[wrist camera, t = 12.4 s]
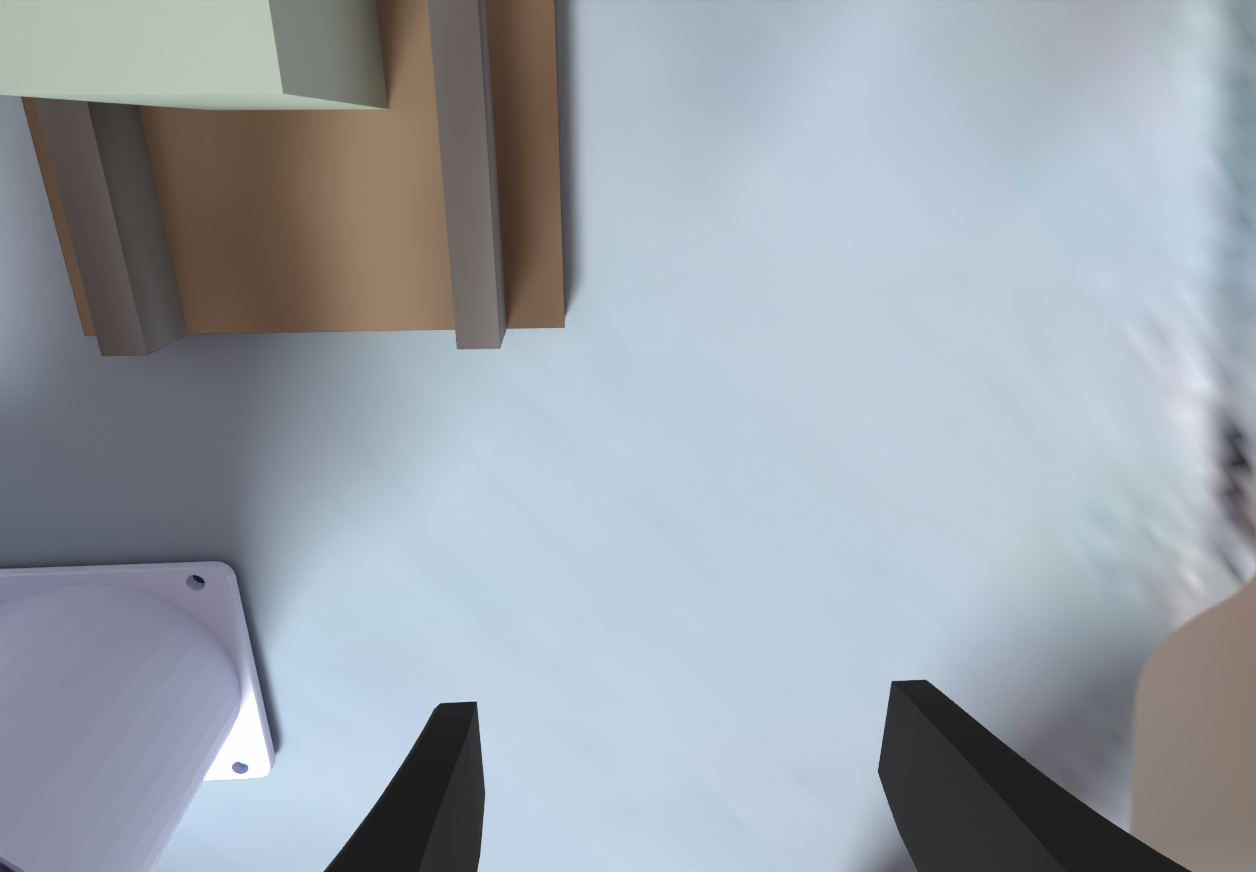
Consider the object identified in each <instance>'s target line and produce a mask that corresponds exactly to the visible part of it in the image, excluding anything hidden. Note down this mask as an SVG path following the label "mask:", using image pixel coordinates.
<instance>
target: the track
mask: <svg viewBox="0 0 1256 872" xmlns="http://www.w3.org/2000/svg"><path fill="white" fill-rule="evenodd" d="M376 5H377V14H378V23H379V32H380V41H381V50H382V58H383V67H384V76H385V85H386V94H387V103H388V109H340V110H203V109H189V108H175V107H161V106H148V105H134V104H120V103H107V102H93V101H79V100H66V99H52V98H38V97H24V96H21V98H22V102H23V106H24V110H25V113H26V117H27V121H28V125H29V128H30V132H31V136H32V140H33V143H34V147H35V151H36V155H37V158H38V162H39V166H40V170H41V173H42V177H43V181H44V185H45V188H46V192H47V196H48V200H49V203H50V207H51V211H52V215H53V218H54V222H55V226H56V230H57V233H58V237H59V241H60V245H61V248H62V252H63V256H64V260H65V263H66V267H67V271H68V275H69V278H70V282H71V286H72V290H73V294H74V297H75V301H76V305H77V309H78V312H79V316H80V320H81V324H82V327H83V331H84V335H85V336H97V340H98V344H99V348H100V351H101V355H102V356H132V355H149V354H151V353H153V352H154V351H156V350H158V349H160V348H162V347H164V346H166V345H168V344H170V343H172V342H174V341H176V340H178V339H180V338H182V337H183V336H185V335H187V334H226V333H284V332H342V331H399V330H455V331H456V343H457V349H500V347H501V344H502V341H503V338H504V335H505V332H506V329H515V328H565V311H564V279H563V248H562V216H561V185H560V153H559V121H558V90H557V58H556V27H555V0H376Z"/></svg>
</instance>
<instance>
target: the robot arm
mask: <svg viewBox="0 0 1256 872" xmlns="http://www.w3.org/2000/svg"><path fill="white" fill-rule="evenodd" d="M192 575H197V576H200V577H201V578H203V580H204V582H205V583H198V582H197V581H195V580H194V578H193V576H192ZM238 761H240V762H244V763H246V764H247V765H245V764H241V763H239V762H238ZM274 764H275V753H274V749H273V744H272V740H271V735H270V730H269V726H268V721H267V717H266V712H265V708H264V703H263V698H262V694H261V689H260V685H259V680H258V675H257V671H256V666H255V662H254V657H253V653H252V648H251V643H250V639H249V634H248V630H247V625H246V621H245V616H244V611H243V607H242V602H241V598H240V593H239V589H238V584H237V579H236V575H235V573H234V571H233V569H232V568H231V567H230V566H229V565H227V564H225V563H223V562H217V561H208V562H180V563H153V564H125V565H97V566H69V567H42V568H14V569H0V872H151V871H152V870H153V868H154V866H155V864H156V862H157V861H158V859H159V857H160V855H161V854H162V852H163V850H164V848H165V847H166V845H167V843H168V841H169V840H170V838H171V836H172V834H173V833H174V831H175V829H176V827H177V826H178V824H179V822H180V820H181V819H182V817H183V815H184V813H185V812H186V810H187V808H188V806H189V805H190V803H191V801H192V799H193V798H194V796H195V794H196V792H197V791H198V789H199V787H200V785H201V783H202V782H203V780H221V779H239V778H258V777H264V776H266V775H268V774H269V773H270V772H271V770H272V768H273V766H274ZM878 774H879V777H880V780H881V783H882V786H883V789H884V792H885V795H886V798H887V800H888V803H889V806H890V809H891V812H892V814H893V817H894V820H895V823H896V825H897V828H898V831H899V833H900V835H901V837H902V839H903V841H904V843H905V845H906V848H907V850H908V852H909V854H910V856H911V858H912V860H913V862H914V864H915V866H916V868H917V870H918V872H1191V871H1189V870H1187V869H1186V868H1184V867H1182V866H1181V865H1179V864H1177V863H1175V862H1174V861H1172V860H1171V859H1169V858H1167V857H1165V856H1164V855H1162V854H1160V853H1159V852H1157V851H1155V850H1154V849H1152V848H1151V847H1149V846H1148V845H1146V844H1145V843H1143V842H1141V841H1140V840H1138V839H1136V838H1135V837H1133V836H1132V835H1130V834H1129V833H1127V832H1126V831H1124V830H1122V829H1121V828H1119V827H1118V826H1116V825H1115V824H1113V823H1112V822H1110V821H1109V820H1107V819H1106V818H1104V817H1103V816H1101V815H1100V814H1098V813H1097V812H1095V811H1094V810H1092V809H1091V808H1089V807H1088V806H1087V805H1085V804H1084V803H1083V802H1081V801H1080V800H1078V799H1077V798H1076V797H1074V796H1073V795H1071V794H1070V793H1069V792H1067V791H1066V790H1064V789H1063V788H1062V787H1060V786H1059V785H1057V784H1056V783H1055V782H1053V781H1052V780H1051V779H1049V778H1048V777H1047V776H1045V775H1044V774H1043V773H1041V772H1040V771H1039V770H1037V769H1036V768H1035V767H1034V766H1032V765H1031V764H1030V763H1028V762H1027V761H1026V760H1025V759H1023V758H1022V757H1021V756H1019V755H1018V754H1017V753H1016V752H1014V751H1013V750H1012V749H1011V748H1009V747H1008V746H1007V745H1006V744H1004V743H1003V742H1002V741H1001V740H999V739H998V738H997V737H996V736H994V735H993V734H992V733H991V732H989V731H988V730H987V729H986V728H985V727H983V726H982V725H981V724H980V723H979V722H977V721H976V720H975V719H974V718H972V717H971V716H970V715H969V714H968V713H966V712H965V711H964V710H963V709H962V708H960V707H959V706H958V705H957V704H955V703H954V702H953V701H952V700H951V699H949V698H948V697H947V696H946V695H945V694H943V693H942V692H941V691H940V690H938V689H937V688H936V687H935V686H933V685H932V684H931V683H929V682H928V681H927V680H909V681H892V683H891V690H890V696H889V703H888V709H887V716H886V722H885V729H884V735H883V742H882V748H881V755H880V761H879V768H878ZM484 802H485V787H484V776H483V765H482V754H481V743H480V732H479V721H478V710H477V702H458V703H440V704H439V705H438V706H437V707H436V708H435V709H434V710H433V712H432V714H431V716H430V718H429V720H428V722H427V724H426V725H425V727H424V729H423V731H422V732H421V734H420V736H419V738H418V739H417V741H416V743H415V744H414V746H413V748H412V749H411V751H410V752H409V754H408V756H407V757H406V759H405V760H404V762H403V764H402V765H401V767H400V768H399V770H398V771H397V773H396V774H395V776H394V777H393V779H392V780H391V782H390V783H389V785H388V786H387V788H386V789H385V791H384V792H383V794H382V795H381V797H380V798H379V800H378V801H377V803H376V804H375V805H374V807H373V808H372V810H371V811H370V812H369V814H368V815H367V816H366V818H365V819H364V820H363V822H362V823H361V824H360V826H359V827H358V828H357V830H356V831H355V832H354V834H353V835H352V836H351V838H350V839H349V840H348V842H347V843H346V844H345V846H344V847H343V848H342V850H341V851H340V852H339V853H338V855H337V856H336V857H335V858H334V860H333V861H332V862H331V863H330V864H329V866H328V867H327V868H326V869H325V871H324V872H477V869H478V864H479V858H480V850H481V838H482V827H483V815H484Z"/></svg>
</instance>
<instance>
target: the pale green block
mask: <svg viewBox="0 0 1256 872" xmlns="http://www.w3.org/2000/svg"><path fill="white" fill-rule="evenodd" d="M0 95H11V96H24V97H38V98H52V99H66V100H79V101H93V102H107V103H120V104H134V105H148V106H161V107H175V108H189V109H203V110H340V109H388V103H387V94H386V85H385V76H384V67H383V58H382V50H381V41H380V32H379V23H378V14H377V5H376V0H0Z"/></svg>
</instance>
